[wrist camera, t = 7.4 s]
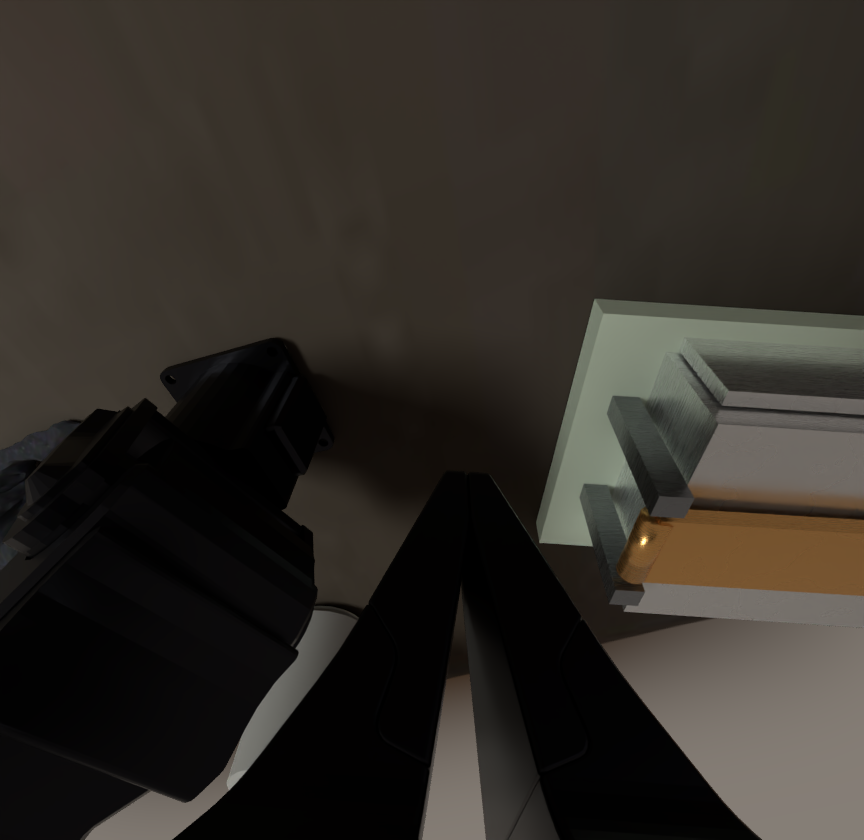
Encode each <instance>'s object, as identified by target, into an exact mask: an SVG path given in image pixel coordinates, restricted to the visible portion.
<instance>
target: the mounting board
mask: <svg viewBox="0 0 864 840" xmlns="http://www.w3.org/2000/svg"><path fill="white" fill-rule="evenodd" d="M684 337H686V338H702V339H717V340H733V341H748V342H764V343H780V344H795V345H811V346H826V347H842V348H858V349H864V316H858V315H842V314H826V313H811V312H795V311H779V310H763V309H748V308H732V307H716V306H700V305H685V304H669V303H653V302H637V301H622V300H606V299H595V300H594V303H593V307H592V311H591V315H590V319H589V323H588V326H587V330H586V334H585V338H584V342H583V345H582V349H581V353H580V357H579V361H578V364H577V368H576V372H575V376H574V380H573V384H572V387H571V391H570V395H569V399H568V403H567V406H566V410H565V414H564V418H563V422H562V426H561V429H560V433H559V437H558V441H557V445H556V448H555V452H554V456H553V460H552V464H551V467H550V471H549V475H548V479H547V483H546V487H545V490H544V494H543V498H542V502H541V506H540V509H539V513H538V517H537V521H536V525H537V531H538V537H539V543H551V544H566V545H581V546H593V545H592V541H591V537H590V534H589V530H588V527H587V523H586V519H585V516H584V512H583V509H582V505H581V502H580V498H579V497H580V494H581V491H582V488H583V485H584V484H599V485H607V486H608V488H609V491H610V494H611V495H612V493H613V490H614V487H615V485H616V482H617V479H618V477H619V474H620V472H621V469H622V466H623V464H624V461H625V456H624V454H623V451H622V449H621V446H620V444H619V442H618V439H617V437H616V435H615V432H614V430H613V428H612V425H611V423H610V421H609V418H608V416H607V411H608V408H609V405H610V402H611V399H612V396H628V397H640V399H641V401H642V403H643V404H644V406H646V403H647V401H648V398H649V396H650V393H651V390H652V388H653V385H654V382H655V380H656V377H657V375H658V372H659V369H660V367H661V364H662V362H663V359H664V356H665V354H666V352H676V353H681V352H680V351H679V349H680V347H681V344H682V342H683V339H684Z"/></svg>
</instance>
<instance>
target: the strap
mask: <svg viewBox="0 0 864 840" xmlns="http://www.w3.org/2000/svg"><path fill="white" fill-rule="evenodd" d="M616 571H617V573H618V575H619V576H620V577H621V578H622V579H623V580H625V581H626V582H629V583H631V584H641V583H659V584H675V585H692V586H708V587H724V588H741V589H757V590H773V591H790V592H806V593H822V594H839V595H855V596H864V520H855V519H839V518H822V517H806V516H790V515H773V514H757V513H741V512H724V511H708V510H691V509H689V510H688V512H687V514H686V516H685V518H670V517H655V516H650V515H649V512H648V510H647V508H646V507H644V508H642V509H641V510H640V513H639V515H638V517H637V519H636V522H635V524H634V526H633V528H632V531H631V533H630V535H629V537H628V540H627V542H626V544H625V546H624V549H623V551H622V553H621V555H620V558H619V560H618V562H617V564H616Z"/></svg>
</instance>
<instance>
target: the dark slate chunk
mask: <svg viewBox="0 0 864 840" xmlns="http://www.w3.org/2000/svg"><path fill="white" fill-rule="evenodd" d="M79 424H80V423H79V422H75V421H62V422H59V423H57V424H53V425H52V426H51V427H50V428H49V429H48V430H46V431H41V432H36V433H33V434H30V435H27V436H26V437H25V438H24V439H23V440H22V441H21V442H18V443H15V444H14V445H13V446H11V447H8V448H5V449H2V450H0V571H1V570H2V569H3V568H4V566H5V565H6V564H7V563H8V562H9V561H10V560H11V559H12V558H13V557H14V556H15V555H16V554H17V553H18V551H16V550H14V549H13V548H11V547H9V546H7V545H5V544H4V543H2V541H3V539H4V538H5V536H6V534H7V533H8V531H9V530H10V528H11V527H12V525H13V524H14V522H15V520H16V519H17V515H18V513H19V512H20V510H21V508H22V507H23V506H24V504H25V503H26V491H25V480H26V479H27V478H28V477H29V476H30V475H31V473H32V472H33V471H34V470H35V469H36V467H35V460H38V461H43V460H44V459H45V458H46V457H47V456H48V455H49V454H50V453H51V451H52V450H53V449H54V448H55V447H56V446H57V445H58V444H59V443H60V442H62V441H63V440H64V439H65V438H66V437H67V436H68V435H69V434H70V433H71V432H72V431H73V430H74V429H75V428H76V427H77V426H78V425H79Z"/></svg>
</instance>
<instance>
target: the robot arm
mask: <svg viewBox="0 0 864 840" xmlns="http://www.w3.org/2000/svg"><path fill="white" fill-rule="evenodd" d="M269 347H273V348H275V349H276V350H277V352H278V353H274V352H272V351H271V350H270V348H269ZM170 376H173V377H174V378H175V379H176V380H174V379H172V378H171V377H170ZM160 379H161V381H162V383H163V384H164V386H165V387H166V388H167V390H168V391H169V392H170V394H171V395H172V396H173V398H174V399H175V401H176V402H177V404H176V405H175V406H174V407H173V408H172V409H171V411H170V412H169V413H168V414H167V415H166V417H164V416H163V415H162V414H160V413H159V412H158V411H157V407H156V406H155V405H154V404H153V403H151V402H150V401H149V400H148V399H146V398H144V399H143V400H142V401H140V402H139V403H138V404H137V405H135V406H134V407H133V408H132V409H131V408H130V407H126V408H125V409H123V410H122V411H120V410H119V411H118V412H115V411H109V410H102V409H96V410H95V411H94V412H93V413H91V414H90V415H89V416H88V417H87V418H86V419H85V420H84V421H83V422H82V423H80V424H79V425H78V426H77V427H76V428H75V429H74V430H73V431H72V432H71V433H70V434H69V435H68V436H67V437H66V438H65V439H64V440H63V441H62V442H60V443H59V444H58V445H57V446H56V447H55V448H54V449H53V450H52V451H51V453H50V454H49V455H48V456H47V457H46V458H45V459H44V460H43V461H42V462H41V463H40V465H39V466H38V467H37V468H36V469H35V470H34V471H33V472H32V473H31V475H30V476H29V477H28V478H27V479H26V480H25V491H26V503H25V504H24V506H23V507H22V508H21V510H20V512H19V513H18V515H17V519H16V520H15V522H14V524H13V525H12V527H11V528H10V530H9V531H8V533H7V534H6V536H5V538H4V539H3V541H2V543H4V544H5V545H7V546H9V547H11V548H13V549H14V550H16V551H18V553H17V554H16V555H15V556H14V557H13V558H12V559H11V560H10V561H9V562H8V563H7V564H6V565H5V566H4V568H3V569H2V570H1V571H0V840H85V838H86V837H87V836H88V835H89V833H90V832H91V831H92V830H93V829H94V828H95V827H97V826H98V825H100V824H101V823H103V822H104V821H106V820H107V819H109V818H110V817H112V816H114V815H115V814H117V813H118V812H120V811H121V810H123V809H124V808H126V807H127V806H129V805H130V804H132V803H133V802H135V801H136V800H138V799H139V798H141V797H142V796H144V795H145V794H147V793H149V792H150V791H154V792H156V793H159V794H162V795H165V796H167V797H170V798H173V799H175V800H178V801H181V802H184V803H186V802H189V801H191V800H193V799H194V798H195V797H197V796H198V795H199V793H201V792H202V791H203V790H204V789H205V788H206V787H207V786H208V785H209V784H210V783H211V782H212V781H213V780H214V779H215V778H216V777H217V776H218V775H220V773H221V772H222V771H223V770H224V768H225V767H226V765H227V763H228V761H229V759H230V757H231V755H232V753H233V751H234V750H235V748H236V746H237V744H238V742H239V740H240V738H241V736H242V734H243V733H244V731H245V729H246V727H247V725H248V723H249V722H250V720H251V718H252V716H253V715H254V713H255V711H256V709H257V708H258V706H259V705H260V703H261V702H262V700H263V699H264V698H265V696H266V695H267V693H268V692H269V691H270V689H271V688H272V686H273V685H274V683H275V682H276V681H277V680H278V679H279V678H280V677H281V676H282V674H283V673H284V672H285V671H286V670H287V669H288V668H289V667H290V666H291V665H292V664H293V663H294V661H295V660H296V659H297V657H298V654H299V652H298V650H297V649H295V648H296V647H297V646H298V644H299V643H300V641H301V639H302V637H303V636H304V634H305V632H306V630H307V628H308V625H309V623H310V621H311V618H312V614H313V610H314V604H315V602H316V599H317V591H318V589H317V587H316V586H315V585H314V563H315V559H314V554H313V532H312V531H310V530H309V529H308V528H307V527H305V526H304V525H302V526H300V525H299V524H298V523H297V522H295V521H294V520H293V519H292V518H290V517H289V516H288V515H287V514H285V513H284V512H283V511H282V510H283V509H285V508H286V507H287V504H288V502H289V499H290V497H291V494H292V492H293V489H294V487H295V484H296V481H297V479H298V476H299V475H304V474H305V473H306V471H307V469H308V467H309V464H310V461H311V459H312V456H313V453H315V452H320V451H325V450H328V449H330V448H331V447H332V446H333V443H334V436H333V434H332V432H331V430H330V428H329V426H328V425H327V423H326V419H327V417H326V415H325V413H324V411H323V409H322V408H321V406H320V404H319V402H318V400H317V398H316V396H315V395H314V393H313V391H312V389H311V387H310V385H309V383H308V381H307V380H306V378H304V377H303V376H301V375H300V373H299V371H298V369H297V367H296V365H295V364H294V362H293V360H292V358H291V356H290V354H289V353H288V351H287V349H286V347H285V345H284V344H283V343H282V342H281V341H280V340H278V339H275V338H269V339H266V340H262V341H259V342H255V343H252V344H248V345H245V346H241V347H237V348H234V349H230V350H227V351H223V352H220V353H216V354H213V355H209V356H205V357H202V358H198V359H195V360H191V361H188V362H184V363H181V364H177V365H174V366H170V367H167V368H166V369H165V370H164V371H163V372H162V373H161V375H160ZM321 439H325V440H327V442H324V441H322V440H321ZM460 587H461V588H462V601H463V611H464V621H465V631H466V642H467V652H468V662H469V672H470V682H471V691H472V702H473V712H474V722H475V733H476V743H477V753H478V763H479V773H480V783H481V793H482V803H483V813H484V823H485V833H486V840H762V839H761V838H760V837H758V836H757V835H756V834H755V833H754V832H753V831H752V830H751V829H750V828H748V827H747V826H746V825H745V824H744V823H743V822H742V821H741V820H740V819H739V818H738V817H737V816H736V815H735V814H734V812H733V811H732V810H731V809H730V808H729V807H728V806H727V805H726V804H725V803H724V802H723V801H722V799H721V798H720V797H719V796H718V795H717V793H716V792H715V791H714V790H713V789H712V787H711V786H710V785H709V784H708V782H707V781H706V780H705V779H704V777H703V776H702V775H701V774H700V772H699V771H698V770H697V769H696V768H695V766H694V765H693V764H692V762H691V761H690V760H689V759H688V757H687V756H686V755H685V754H684V752H683V751H682V750H681V749H680V747H679V746H678V745H677V744H676V742H675V741H674V740H673V739H672V737H671V736H670V735H669V734H668V732H667V731H666V730H665V729H664V727H663V726H662V725H661V724H660V722H659V721H658V720H657V719H656V717H655V716H654V715H653V714H652V712H651V711H650V710H649V709H648V707H647V706H646V705H645V704H644V702H643V701H642V700H641V699H640V697H639V696H638V694H637V693H636V692H635V691H634V689H633V688H632V687H631V685H630V684H629V683H628V682H627V680H626V679H625V678H624V676H623V675H622V674H621V672H620V671H619V670H618V668H617V667H616V665H615V664H614V662H613V661H612V660H611V658H610V657H609V655H608V654H607V652H606V651H605V649H604V648H603V647H602V645H601V644H600V642H599V641H598V639H597V638H596V636H595V635H594V633H593V631H592V630H591V628H590V627H589V625H588V624H587V622H586V621H585V620H582V615H581V613H580V612H579V610H578V609H577V607H576V606H575V604H574V602H573V601H572V599H571V598H570V596H569V595H568V593H567V592H566V590H565V589H564V587H563V586H562V584H561V582H560V581H559V579H558V578H557V576H556V575H555V573H554V572H553V570H552V569H551V567H550V566H549V564H548V563H547V561H546V559H545V558H544V556H543V555H542V553H541V552H540V550H539V549H538V547H537V546H536V544H535V543H534V541H533V539H532V538H531V536H530V535H529V533H528V532H527V530H526V529H525V527H524V526H523V524H522V523H521V521H520V519H519V518H518V516H517V515H516V513H515V512H514V510H513V509H512V507H511V506H510V504H509V503H508V501H507V500H506V498H505V496H504V495H503V493H502V492H501V490H500V489H499V487H498V486H497V484H496V483H495V481H494V480H493V478H492V477H491V475H490V474H488V473H479V472H470V473H468V475H467V473H466V472H464V471H449V470H448V471H446V472H445V473H444V474H443V476H442V477H441V479H440V481H439V483H438V484H437V486H436V488H435V489H434V491H433V493H432V494H431V496H430V498H429V500H428V501H427V503H426V505H425V506H424V508H423V510H422V512H421V513H420V515H419V517H418V518H417V520H416V522H415V523H414V525H413V527H412V529H411V530H410V532H409V534H408V535H407V537H406V539H405V541H404V542H403V544H402V546H401V547H400V549H399V551H398V552H397V554H396V556H395V558H394V559H393V561H392V563H391V564H390V566H389V568H388V570H387V571H386V573H385V575H384V576H383V578H382V580H381V581H380V583H379V585H378V587H377V588H376V590H375V592H374V593H373V595H372V597H371V598H370V600H369V605H366V607H365V608H364V610H363V612H362V613H361V615H360V617H359V618H358V620H357V622H356V624H355V625H354V627H353V628H352V630H351V631H350V633H349V635H348V636H347V638H346V639H345V641H344V643H343V644H342V646H341V647H340V649H339V650H338V652H337V653H336V655H335V656H334V657H333V659H332V660H331V662H330V663H329V664H328V666H327V667H326V668H325V670H324V671H323V673H322V674H321V675H320V677H319V678H318V680H317V681H316V682H315V684H314V685H313V686H312V687H311V689H310V690H309V691H308V693H307V694H306V695H305V697H304V698H303V699H302V700H301V702H300V703H299V704H298V706H297V707H296V708H295V710H294V711H293V712H292V713H291V715H290V716H289V717H288V719H287V720H286V721H285V723H284V724H283V725H282V726H281V728H280V729H279V730H278V732H277V733H276V734H275V736H274V737H273V738H272V740H271V741H270V742H269V743H268V745H267V746H266V747H265V749H264V750H263V751H262V753H261V754H260V755H259V756H258V758H257V759H256V760H255V761H254V763H253V764H252V765H251V766H250V768H249V769H248V770H247V771H246V772H245V773H244V775H243V776H242V777H241V778H240V779H239V780H238V781H237V783H236V784H235V785H234V786H233V787H232V788H231V789H230V790H229V791H228V792H227V793H226V794H225V795H224V796H223V797H222V798H221V799H220V800H219V801H218V802H217V803H216V804H215V805H213V806H212V807H211V808H210V809H209V810H208V811H207V812H205V813H204V814H203V815H202V816H200V817H199V818H198V819H197V820H196V821H194V822H193V823H192V824H191V825H190V826H188V827H187V828H186V829H185V830H183V831H182V832H181V833H180V834H179V835H178V836H176V837H175V838H174V839H172V840H422V836H423V829H424V823H425V817H426V810H427V804H428V797H429V791H430V784H431V777H432V771H433V765H434V758H435V751H436V745H437V738H438V731H439V725H440V719H441V712H442V706H443V699H444V692H445V686H446V680H447V673H448V666H449V660H450V653H451V647H452V640H453V634H454V627H455V621H456V614H457V608H458V601H459V594H460Z"/></svg>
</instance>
